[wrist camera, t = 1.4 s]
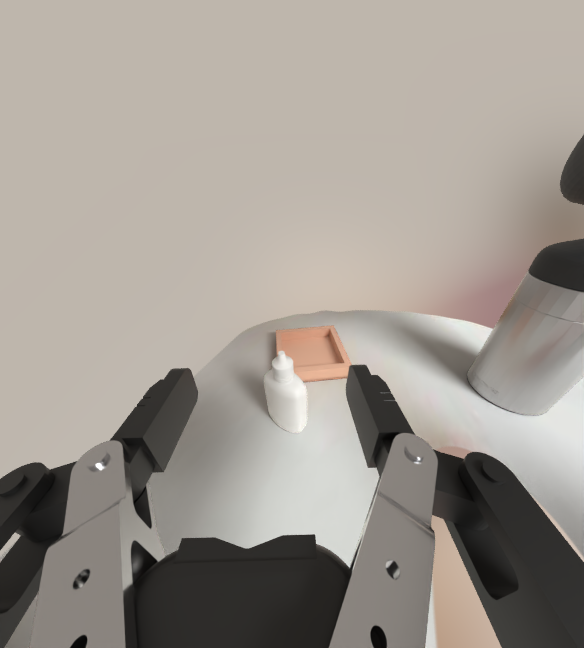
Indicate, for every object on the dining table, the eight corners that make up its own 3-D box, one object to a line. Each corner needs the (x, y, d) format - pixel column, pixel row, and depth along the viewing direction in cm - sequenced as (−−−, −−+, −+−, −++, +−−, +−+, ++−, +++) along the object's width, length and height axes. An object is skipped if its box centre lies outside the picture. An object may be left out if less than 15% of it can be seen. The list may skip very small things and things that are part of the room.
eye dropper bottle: (293, 397, 32) (289, 333, 25) (310, 429, 28) (311, 363, 21) (266, 407, 31) (254, 343, 24) (280, 443, 26) (270, 377, 20)
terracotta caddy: (332, 335, 45) (333, 325, 43) (350, 377, 35) (352, 366, 33) (276, 340, 44) (275, 330, 43) (278, 384, 34) (277, 374, 33)
